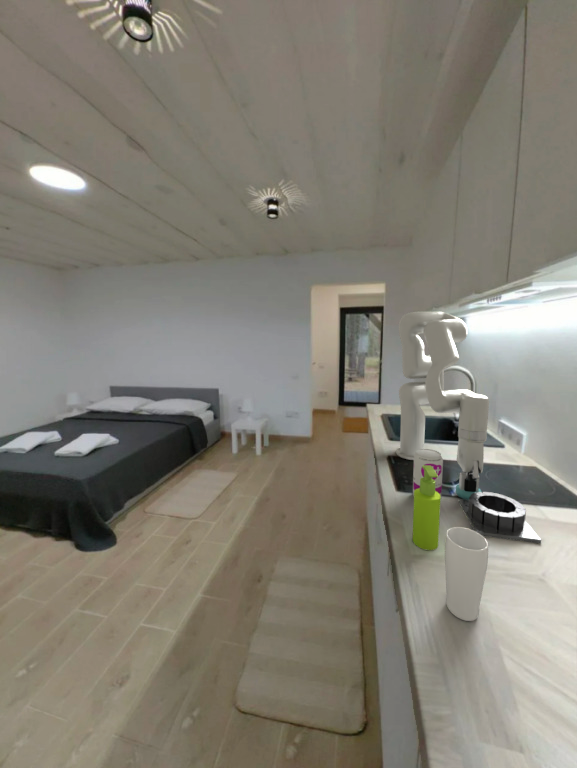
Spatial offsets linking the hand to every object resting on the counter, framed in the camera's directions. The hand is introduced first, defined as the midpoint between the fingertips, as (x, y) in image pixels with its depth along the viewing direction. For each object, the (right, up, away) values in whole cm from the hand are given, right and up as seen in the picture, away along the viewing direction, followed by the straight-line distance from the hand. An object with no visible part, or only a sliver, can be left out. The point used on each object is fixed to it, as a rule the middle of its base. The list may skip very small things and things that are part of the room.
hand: (468, 488), depth 95 cm
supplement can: (-14, -3, 0) cm, 14 cm away
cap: (0, -2, 0) cm, 2 cm away
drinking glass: (-25, -9, -39) cm, 47 cm away
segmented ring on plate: (0, -4, -13) cm, 14 cm away
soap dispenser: (-23, -7, -21) cm, 32 cm away
